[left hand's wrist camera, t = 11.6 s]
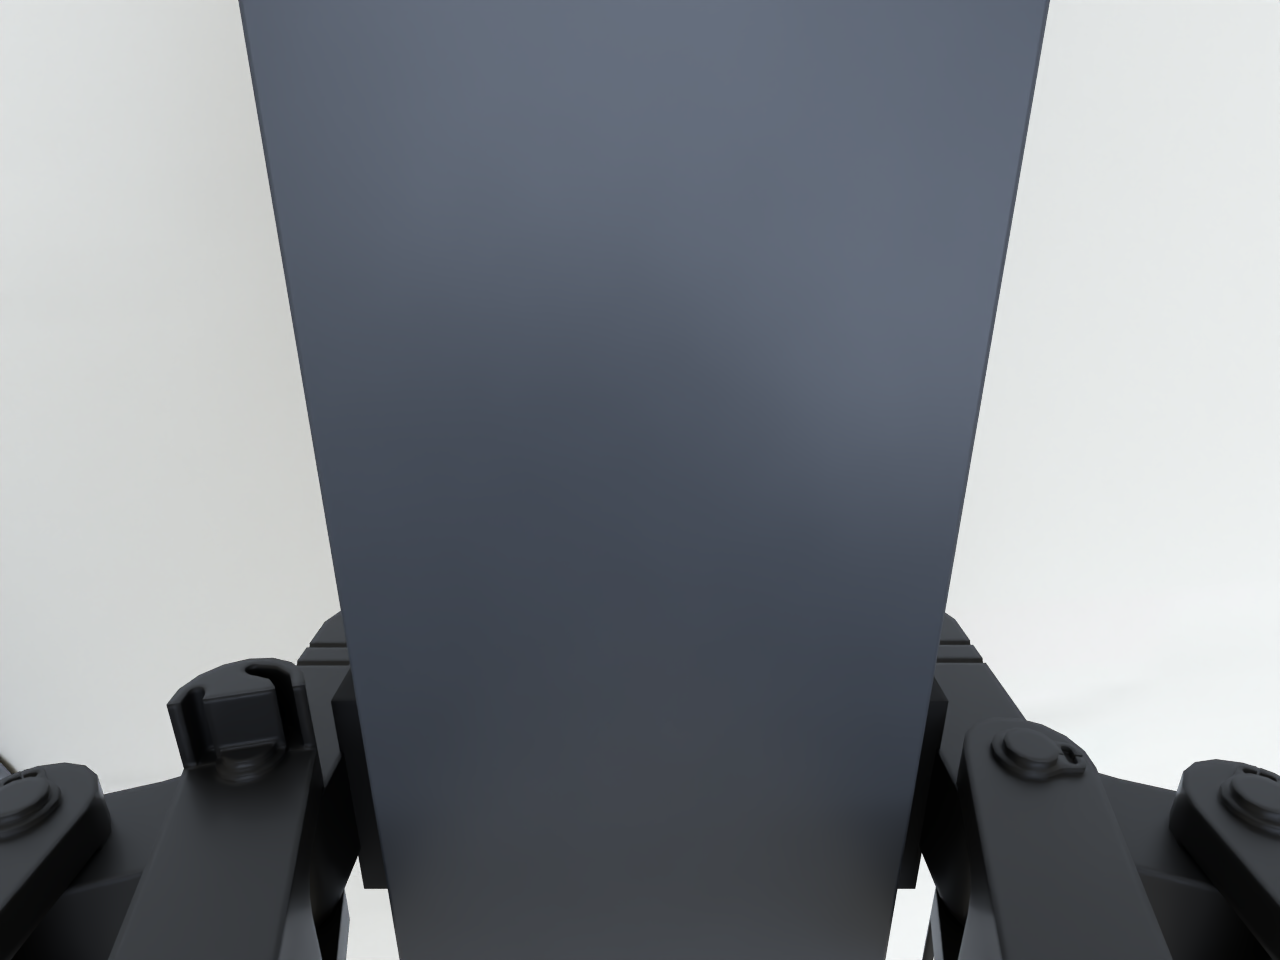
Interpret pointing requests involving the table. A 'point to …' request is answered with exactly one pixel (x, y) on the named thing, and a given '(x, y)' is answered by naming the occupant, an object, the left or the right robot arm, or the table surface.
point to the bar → (643, 439)
